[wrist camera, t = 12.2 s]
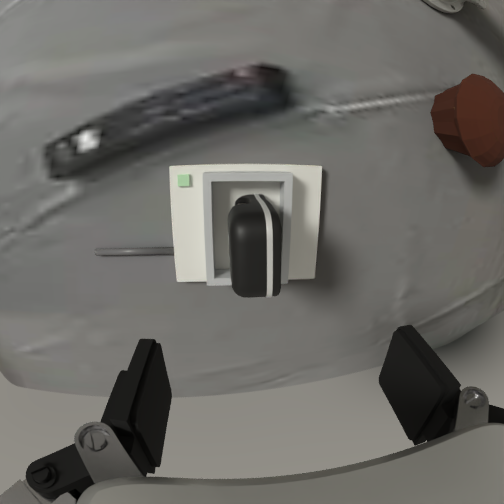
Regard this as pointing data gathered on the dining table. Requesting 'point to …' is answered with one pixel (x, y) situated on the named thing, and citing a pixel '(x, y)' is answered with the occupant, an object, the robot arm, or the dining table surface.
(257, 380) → the dining table surface
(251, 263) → the battery charger
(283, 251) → the dock
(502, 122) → the muffin
